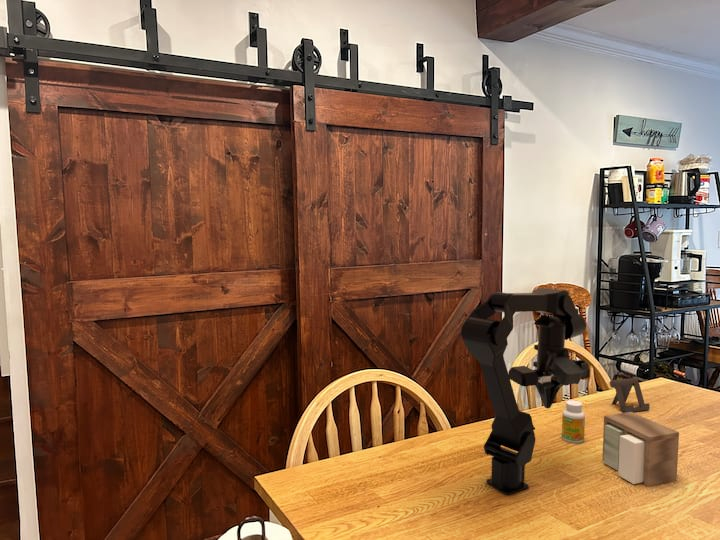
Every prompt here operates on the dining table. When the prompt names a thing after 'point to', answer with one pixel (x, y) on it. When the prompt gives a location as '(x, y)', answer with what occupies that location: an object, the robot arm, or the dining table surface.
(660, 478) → the walnut housing
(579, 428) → the supplement bottle
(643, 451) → the white plug
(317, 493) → the dining table surface
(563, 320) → the robot arm
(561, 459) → the dining table surface
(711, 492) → the dining table surface
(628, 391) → the portable electronic device stand
